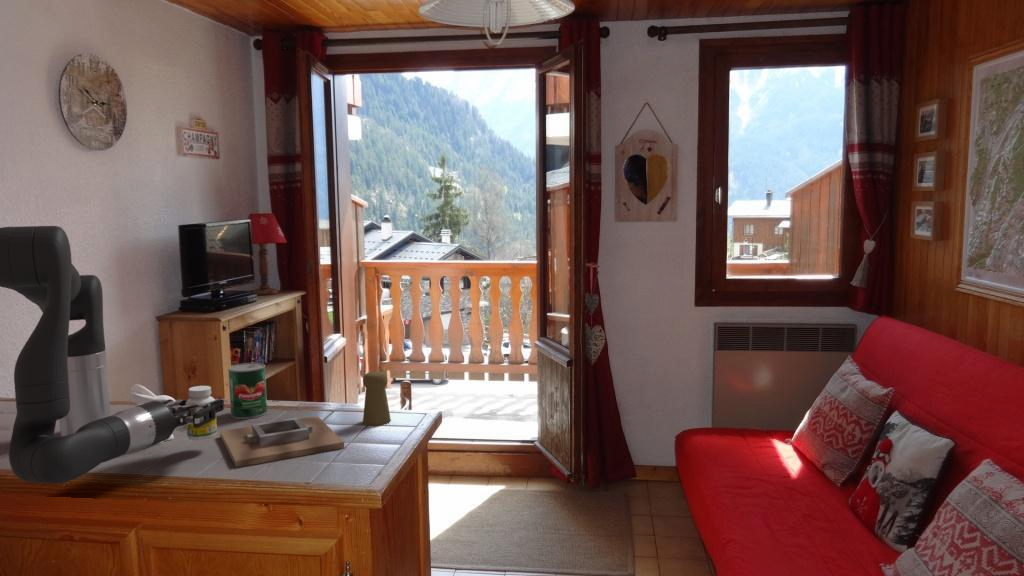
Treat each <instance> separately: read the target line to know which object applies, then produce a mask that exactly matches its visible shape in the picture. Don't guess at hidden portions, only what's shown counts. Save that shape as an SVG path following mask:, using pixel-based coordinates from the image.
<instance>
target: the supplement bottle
mask: <svg viewBox="0 0 1024 576" xmlns="http://www.w3.org/2000/svg"><path fill="white" fill-rule="evenodd" d="M211 395H212V387H211V386H210V385H197V386H191V387H190V388H188V398H190V399H188V398H187V399H188V400H187V401H186V405H189V404H197V405H202V404H206V403H210V402H212V401H215V400H216V399H215V398H214V397H213V396H211ZM203 409H204V408H203ZM200 410H202V409H200ZM200 410H199V411H200ZM190 411H191V416H193V411H192V409H190ZM217 427H218V426H217V418H216V419H214V420H212V421H210V422H208V423H206V424H204V425H203V426H201V427H198V428H194V427H193V424H189V425H186V436H187V439H189V440H192V441H205V440H210V439H212V438H214V437H216V436H217V435H218V428H217Z"/></svg>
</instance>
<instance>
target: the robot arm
mask: <svg viewBox="0 0 1024 576" xmlns="http://www.w3.org/2000/svg"><path fill="white" fill-rule="evenodd" d="M72 262H73V261H72V250H71V244H70V240H69V237H68V235H67V233H66V231H65V230H64V229H63V228H62V227H61V226H58V225H34V226H33V225H29V226H25V225H24V226H4V227H0V288H4V289H10V290H13V291H14V292H17V293H18V294H20V295H22V296H23V297H24V298H26V299H27V300H29V301H30V302H31V303H33V304H35V305H37V306H38V308H39V310H40V311H41V313H42V314H41V316H40V318H39V320H38V322H37V324H36V326H35V328H34V329H33V331H32V333H30V336H29V337H28V339H27V340H26V342H25V344H24V345H23V346H22V349H21V350H20V352H19V353H18V356H17V359H16V361H15V365H14V371H13V383H14V396H15V407H16V416H15V419H14V423H13V426H12V433H11V438H10V444H9V448H8V449H9V450H8V461H9V465H10V468H11V470H12V472H13V474H14V475H15V476H16V478H17V479H19V480H21V481H24V482H28V483H38V484H39V483H40V484H55V485H57V484H63V483H67V482H71V481H73V480H75V479H78V478H80V477H82V476H84V475H86V474H87V473H89V472H91V471H92V470H93V469H96V467H97V466H99V465H100V464H103V463H105V462H106V463H107V462H109V461H111V460H113V459H116V458H119V457H121V456H125V455H129V454H134V453H136V452H139V451H142V450H145V449H147V448H149V447H152V446H154V445H158V444H157V443H160V442H162V441H163V442H166V441H165V440H167V439H168V438H169V437H170V436H171V435H173V432H174V431H175V429H181V428H184V427H185V426H187V425H189V424H193V427H194V428H198V427H201V426H203V425H204V424H206V423H208V422H210V421H212V420H214V419H216V420H217V413H219V412H223V411H224V410H225V400H224V399H222V398H218V399H215V401H212V402H210V403H206V404H202V405H197V404H189V405H186V401H187V400H188V399H190V397H188V398H186V399H175V400H176V401H173V400H171V399H169V400H166V401H162V402H159V401H151V402H148V403H144V404H141V405H138V404H137V405H138V406H137V405H136V406H132V407H129V408H126V409H122V410H119V411H117V412H115V413H113V414H112V413H111V410H112V409H111V401H110V400H111V397H110V388H109V387H110V386H109V385H110V384H109V375H108V365H107V364H108V362H107V351H106V341H105V339H106V338H105V330H104V329H105V327H104V306H103V305H104V301H103V300H104V297H103V286H102V282H101V279H99V277H98V276H96V275H95V274H82V275H80V273H79V271H78V270H77V268H76V267H75V266H74V265H73V263H72ZM83 320H84V321H85V324H84V325H83V327H82V328H80V329H79V330H77V331H75V332H73V333H71V334H69V332H70V330H69V329H70V321H83ZM203 408H204V409H203ZM190 409H192V411H193V416H191V411H190ZM200 409H202V410H200ZM199 410H200V411H199ZM57 421H59V422H58V423H59V432H60V436H55V431H56V430H55V429H56V424H57ZM167 441H168V440H167ZM163 442H162V443H163ZM160 444H161V443H160Z"/></svg>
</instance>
